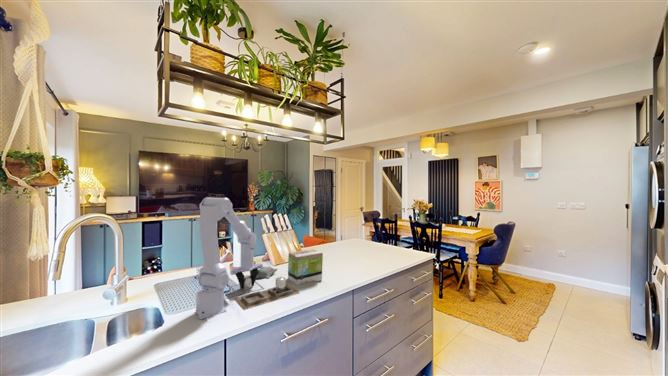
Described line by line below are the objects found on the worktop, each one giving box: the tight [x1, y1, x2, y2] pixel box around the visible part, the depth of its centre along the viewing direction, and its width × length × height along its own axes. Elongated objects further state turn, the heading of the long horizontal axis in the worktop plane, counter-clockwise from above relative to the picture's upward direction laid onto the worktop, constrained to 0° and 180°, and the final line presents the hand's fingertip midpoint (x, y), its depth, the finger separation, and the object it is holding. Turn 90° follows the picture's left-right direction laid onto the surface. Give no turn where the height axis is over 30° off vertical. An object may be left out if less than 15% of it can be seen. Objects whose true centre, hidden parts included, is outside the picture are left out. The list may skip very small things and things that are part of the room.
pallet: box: [233, 284, 300, 311], centre depth 109 cm, size 25×12×3 cm, turn 129°
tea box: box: [287, 248, 324, 285], centre depth 130 cm, size 15×10×15 cm, turn 129°
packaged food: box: [256, 265, 278, 280], centre depth 136 cm, size 9×12×5 cm
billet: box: [275, 276, 287, 294], centre depth 113 cm, size 4×4×6 cm
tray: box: [229, 280, 265, 296], centre depth 118 cm, size 12×12×2 cm
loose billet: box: [242, 274, 253, 291], centre depth 118 cm, size 4×4×6 cm
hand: (246, 286), depth 118 cm, fingers closed on loose billet, 4 cm apart
